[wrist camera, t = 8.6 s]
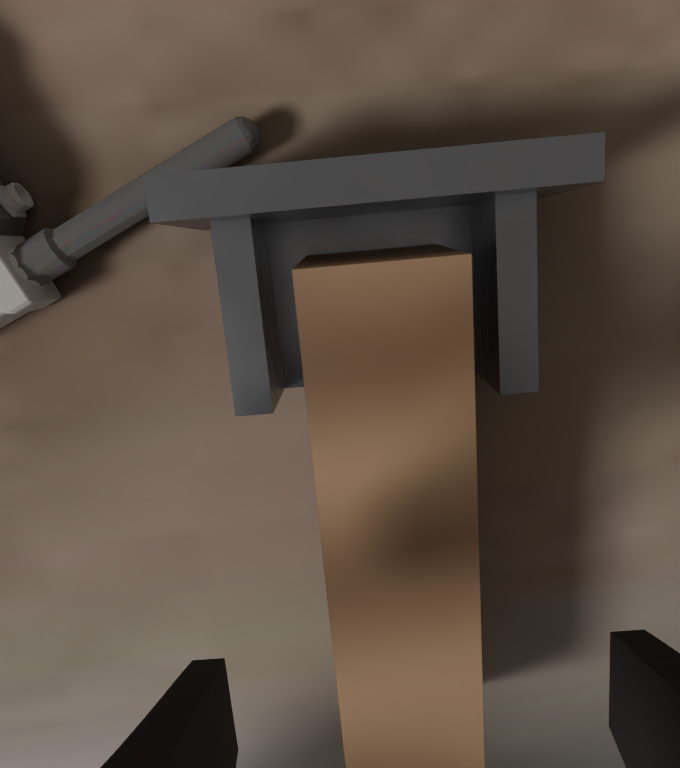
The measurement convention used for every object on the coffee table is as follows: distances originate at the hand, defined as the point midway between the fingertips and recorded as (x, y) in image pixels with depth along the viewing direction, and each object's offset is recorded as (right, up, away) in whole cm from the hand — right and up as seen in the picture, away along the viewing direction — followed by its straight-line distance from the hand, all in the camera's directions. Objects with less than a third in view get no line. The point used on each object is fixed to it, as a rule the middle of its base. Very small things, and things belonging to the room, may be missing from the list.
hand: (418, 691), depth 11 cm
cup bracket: (0, +9, +7) cm, 12 cm away
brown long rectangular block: (0, +2, +8) cm, 9 cm away
